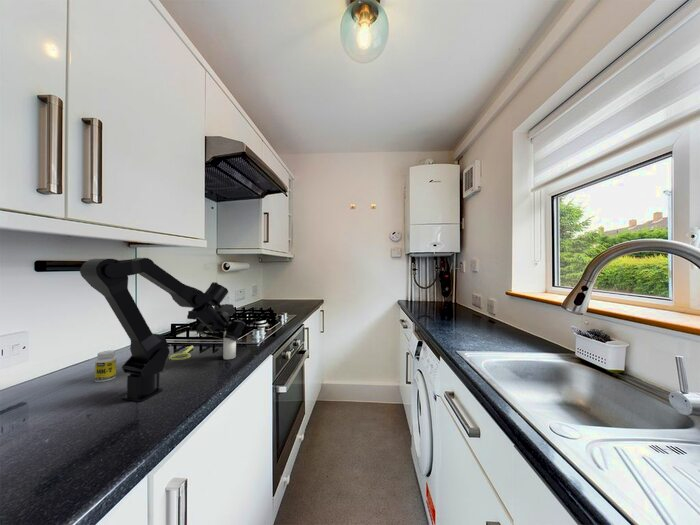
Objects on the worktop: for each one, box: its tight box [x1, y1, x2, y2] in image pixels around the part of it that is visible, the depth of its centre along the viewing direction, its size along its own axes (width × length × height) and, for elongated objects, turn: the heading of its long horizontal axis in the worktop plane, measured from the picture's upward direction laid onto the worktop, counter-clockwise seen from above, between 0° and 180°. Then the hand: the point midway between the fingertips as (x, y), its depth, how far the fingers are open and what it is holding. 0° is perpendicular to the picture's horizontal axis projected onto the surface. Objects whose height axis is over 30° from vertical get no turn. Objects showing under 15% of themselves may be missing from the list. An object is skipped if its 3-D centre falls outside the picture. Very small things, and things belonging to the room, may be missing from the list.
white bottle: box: [222, 330, 237, 360], centre depth 99 cm, size 4×4×13 cm
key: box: [168, 345, 194, 361], centre depth 102 cm, size 7×12×2 cm, turn 26°
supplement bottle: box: [94, 349, 117, 383], centre depth 80 cm, size 5×5×8 cm
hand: (232, 339), depth 100 cm, fingers closed on white bottle, 4 cm apart
